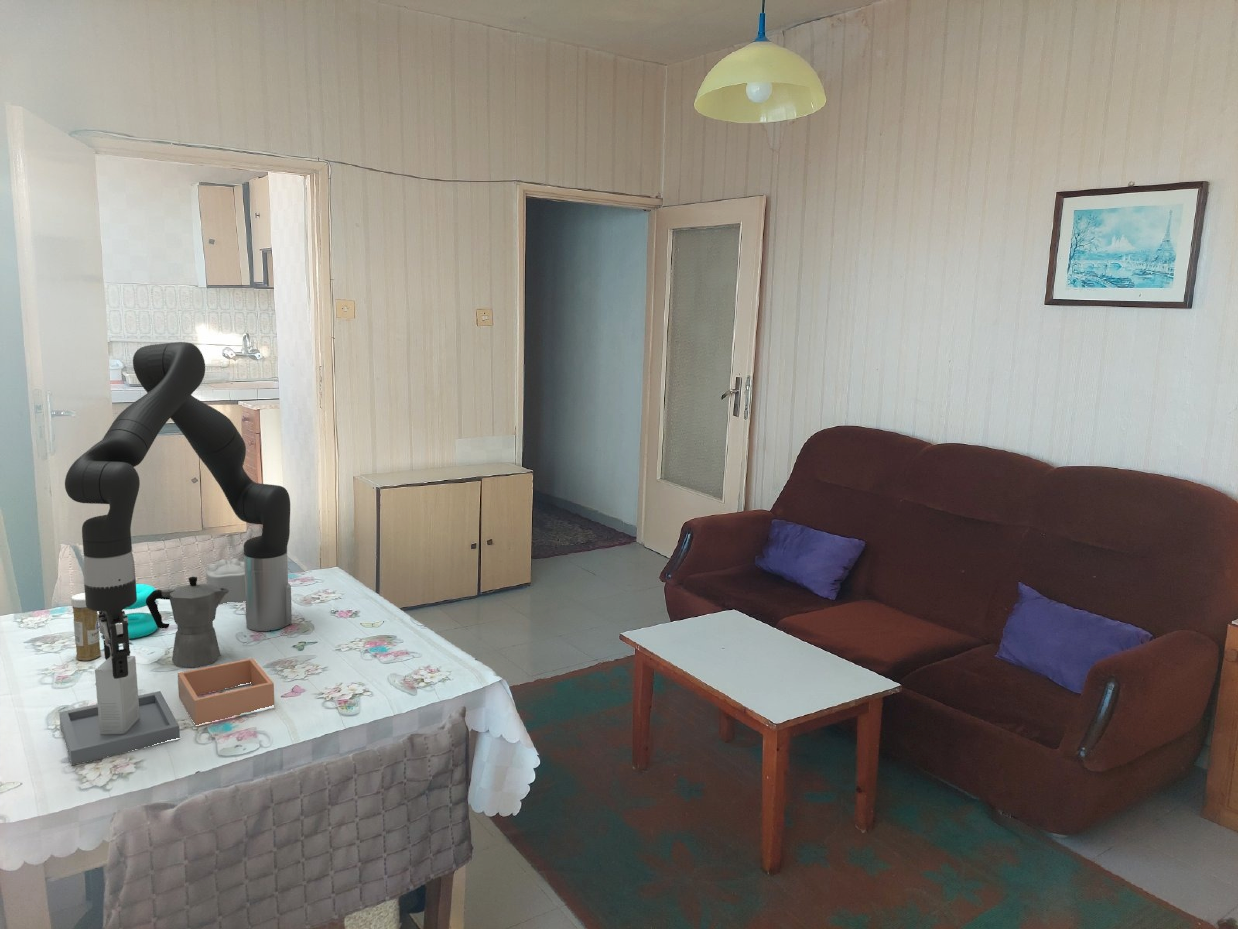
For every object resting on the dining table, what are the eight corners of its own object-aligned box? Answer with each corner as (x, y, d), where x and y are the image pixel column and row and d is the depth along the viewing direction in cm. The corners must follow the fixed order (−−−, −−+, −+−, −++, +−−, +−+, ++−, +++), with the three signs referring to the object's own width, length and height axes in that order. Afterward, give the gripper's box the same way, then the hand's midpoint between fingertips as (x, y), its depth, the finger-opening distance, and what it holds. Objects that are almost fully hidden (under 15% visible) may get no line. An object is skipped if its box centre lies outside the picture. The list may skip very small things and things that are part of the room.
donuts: (132, 579, 201) (167, 586, 198) (135, 621, 203) (169, 628, 200) (94, 593, 192) (129, 600, 188) (97, 636, 193) (132, 644, 190)
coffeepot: (232, 647, 191) (229, 568, 187) (229, 665, 182) (226, 582, 179) (152, 654, 185) (148, 572, 182) (145, 673, 177) (140, 587, 173)
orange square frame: (253, 681, 175) (252, 657, 174) (274, 708, 165) (273, 683, 164) (178, 697, 167) (177, 673, 166) (195, 727, 156) (194, 700, 155)
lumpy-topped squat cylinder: (207, 605, 215) (206, 571, 213) (207, 589, 226) (205, 556, 225) (253, 601, 219) (252, 568, 218) (250, 585, 231) (249, 553, 229)
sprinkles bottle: (102, 659, 182) (97, 597, 180) (76, 663, 180) (71, 600, 177) (100, 651, 186) (96, 590, 183) (75, 655, 183) (70, 593, 181)
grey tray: (160, 703, 164) (160, 691, 164) (180, 739, 152) (179, 726, 152) (60, 725, 155) (59, 712, 154) (71, 765, 142) (70, 751, 142)
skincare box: (115, 718, 156) (111, 654, 154) (140, 718, 156) (136, 655, 154) (98, 735, 150) (93, 669, 148) (124, 735, 150) (120, 669, 148)
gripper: (143, 586, 145) (149, 678, 148) (127, 563, 156) (133, 649, 159) (90, 594, 140) (97, 689, 143) (78, 569, 151) (85, 658, 154)
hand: (116, 668), depth 151 cm, fingers open, 8 cm apart
